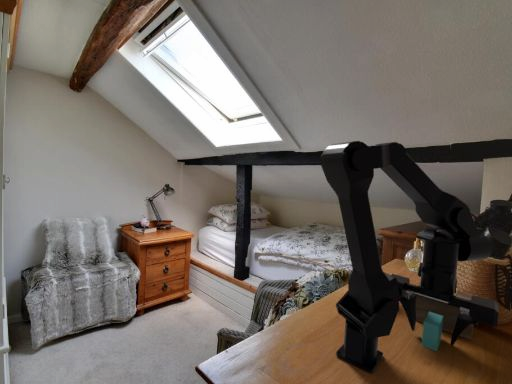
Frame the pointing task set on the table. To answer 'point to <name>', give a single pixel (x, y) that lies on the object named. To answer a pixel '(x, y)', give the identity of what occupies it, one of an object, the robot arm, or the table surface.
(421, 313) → the wooden box
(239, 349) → the table surface
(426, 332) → the teal block
